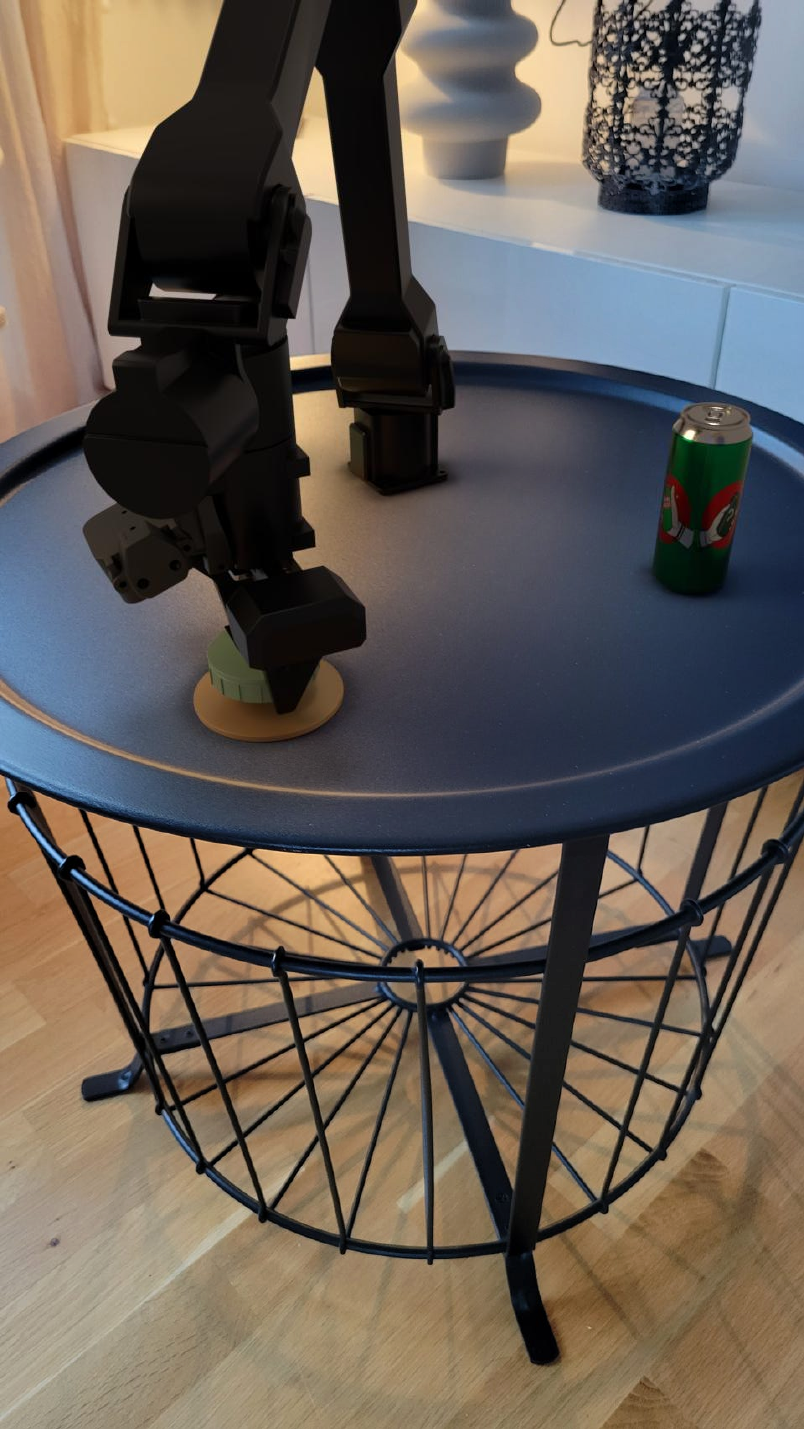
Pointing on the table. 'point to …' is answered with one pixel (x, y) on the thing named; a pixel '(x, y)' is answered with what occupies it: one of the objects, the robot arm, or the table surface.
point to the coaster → (270, 710)
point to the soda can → (701, 496)
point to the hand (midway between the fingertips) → (267, 681)
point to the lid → (237, 672)
